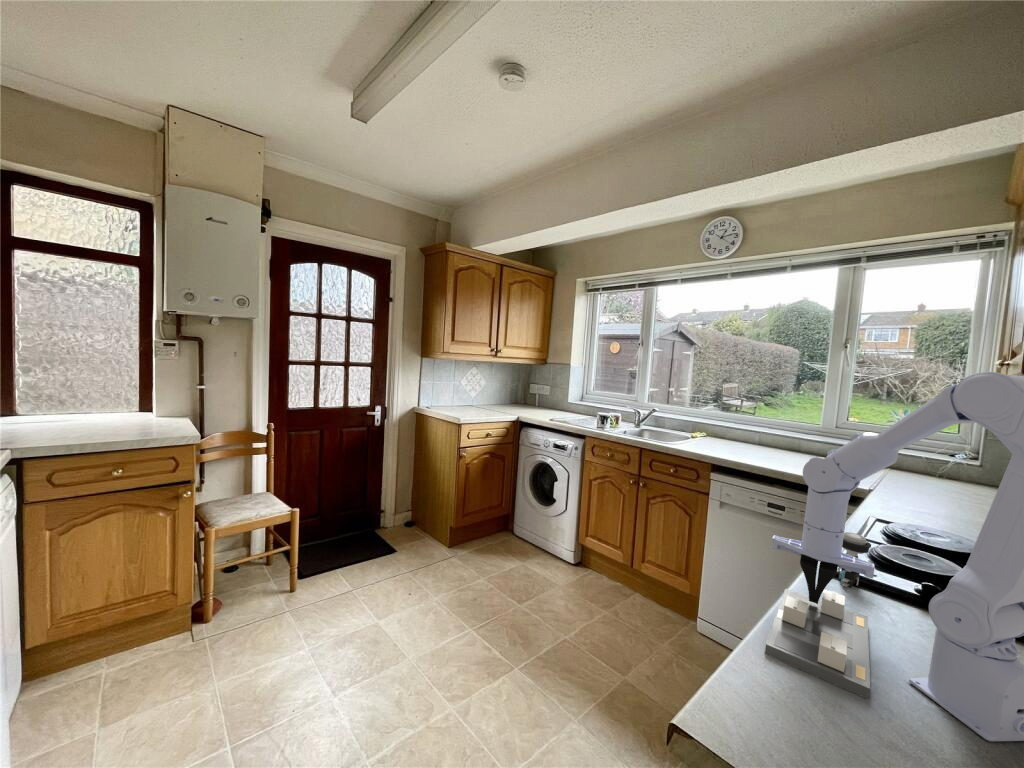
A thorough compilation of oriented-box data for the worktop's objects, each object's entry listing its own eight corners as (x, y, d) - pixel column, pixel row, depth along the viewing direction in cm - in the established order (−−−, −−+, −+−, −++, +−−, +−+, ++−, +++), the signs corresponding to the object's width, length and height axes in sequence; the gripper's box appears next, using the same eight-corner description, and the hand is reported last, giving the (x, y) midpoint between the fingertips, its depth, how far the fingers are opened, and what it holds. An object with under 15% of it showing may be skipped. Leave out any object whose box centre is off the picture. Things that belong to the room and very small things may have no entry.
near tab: (843, 672, 58) (846, 653, 58) (817, 661, 60) (819, 642, 60) (844, 657, 62) (847, 639, 61) (819, 647, 63) (821, 629, 63)
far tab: (842, 619, 71) (844, 603, 71) (820, 611, 73) (822, 596, 73) (843, 609, 74) (845, 594, 74) (821, 602, 76) (824, 587, 76)
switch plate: (868, 699, 56) (870, 688, 56) (764, 653, 64) (765, 643, 64) (866, 625, 73) (867, 616, 73) (784, 595, 81) (785, 587, 81)
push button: (859, 594, 83) (867, 545, 83) (827, 582, 87) (833, 535, 87) (867, 584, 88) (874, 538, 87) (836, 573, 92) (842, 528, 91)
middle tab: (804, 628, 68) (806, 611, 68) (782, 619, 70) (784, 603, 70) (806, 617, 71) (808, 601, 71) (785, 609, 73) (787, 594, 73)
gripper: (877, 533, 73) (866, 608, 74) (778, 508, 82) (770, 576, 83) (878, 545, 67) (867, 626, 68) (773, 517, 77) (764, 590, 77)
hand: (813, 600), depth 75 cm, fingers closed
